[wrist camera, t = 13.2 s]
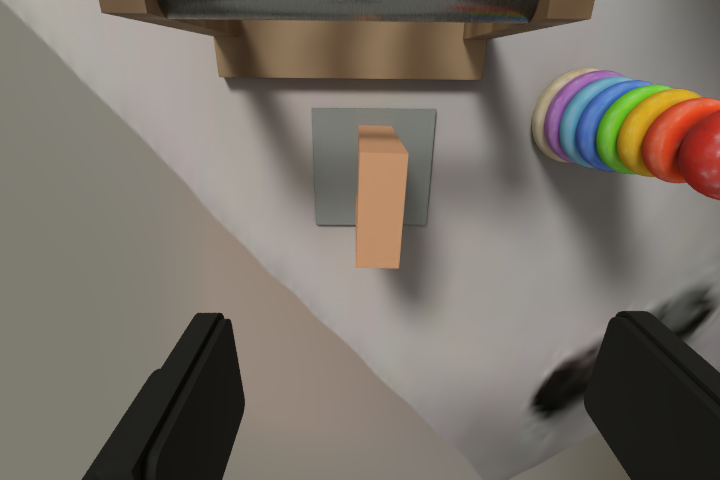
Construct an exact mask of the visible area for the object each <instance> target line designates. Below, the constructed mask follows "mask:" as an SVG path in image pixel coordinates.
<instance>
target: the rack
mask: <svg viewBox="0 0 720 480" xmlns="http://www.w3.org/2000/svg"><path fill="white" fill-rule="evenodd" d="M594 1H595V0H99V3H100V7H101V12H102V13H105V14H110V15H115V16H120V17H124V18H129V19H134V20H138V21H143V22H148V23H153V24H157V25H162V26H167V27H172V28H176V29H181V30H186V31H190V32H195V33H200V34H205V35H209V36H214V43H215V51H216V58H217V66H218V74H219V77H258V78H355V79H452V80H482V76H483V69H484V61H485V53H486V45H487V40H488V39H493V38H498V37H503V36H508V35H513V34H518V33H523V32H528V31H533V30H538V29H543V28H548V27H553V26H558V25H563V24H568V23H573V22H578V21H583V20H588V19H591V15H592V10H593V6H594Z"/></svg>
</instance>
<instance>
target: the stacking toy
mask: <svg viewBox="0 0 720 480" xmlns="http://www.w3.org/2000/svg"><path fill="white" fill-rule="evenodd" d="M532 132H533V137H534V140H535V142H536V144H537V146H538V147H539V149H540V150H541V151H542V152H543V153H544V154H545V155H546V156H548V157H550V158H551V159H554V160H556V161H559V162H565V163H575V164H579V165H581V166H584V167H588V168H596V169H599V170H603V171H612V172H613V171H617V172H620V173H624V174H638V175H642V176H647V177H657V178H659V179H661V180H663V181H666V182H670V183H688V184H689V185H690V186H691V187H692V188H693V189H694V190H696V191H698V192H699V193H701V194H703V195H705V196H707V197H710V198H713V199H716V200H720V101H719V100H716V99H712V98H702V97H701V96H700V95H698V94H696V93H694V92H692V91H689V90H684V89H673V88H671V87H668V86H664V85H654V84H651V83H649V82H646V81H640V80H634V79H631V78H628V77H624V76H623V75H621V74H618V73H616V72H613V71H605V70H600V69H595V68H584V69H578V70H574V71H571V72H568V73H566V74H564V75H562V76H560V77H559V78H557V79H556V80H555V81H554V82H552V83H551V84H550V85H549V86H548V87H547V88H546V90H545V91H544V92H543V93H542V95H541V96H540V98H539V100H538V102H537V104H536V106H535V109H534V112H533V117H532Z"/></svg>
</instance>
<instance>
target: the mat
mask: <svg viewBox="0 0 720 480" xmlns="http://www.w3.org/2000/svg"><path fill="white" fill-rule="evenodd" d="M435 116H436V109H355V108H312V134H313V159H314V185H315V210H316V225H356V195H357V192H358V125H370V126H392V128H393V129H394V131H395V133H396V134H397V136H398V137H399V139H400V141H401V142H402V144H403V146H404V147H405V149H406V150H407V152H408V154H409V155H408V166H407V178H406V190H405V202H404V214H403V225H426V220H427V209H428V197H429V185H430V174H431V162H432V151H433V139H434V127H435Z"/></svg>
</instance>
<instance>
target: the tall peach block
mask: <svg viewBox="0 0 720 480" xmlns="http://www.w3.org/2000/svg"><path fill="white" fill-rule="evenodd" d="M408 155H409V154H408V152H407V150H406V149H405V147H404V146H403V144H402V142H401V141H400V139H399V137H398V136H397V134H396V133H395V131H394V129H393V128H392V126H370V125H358V192H357V195H356V267H359V268H399V261H400V249H401V237H402V225H403V214H404V202H405V190H406V178H407V166H408Z"/></svg>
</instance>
